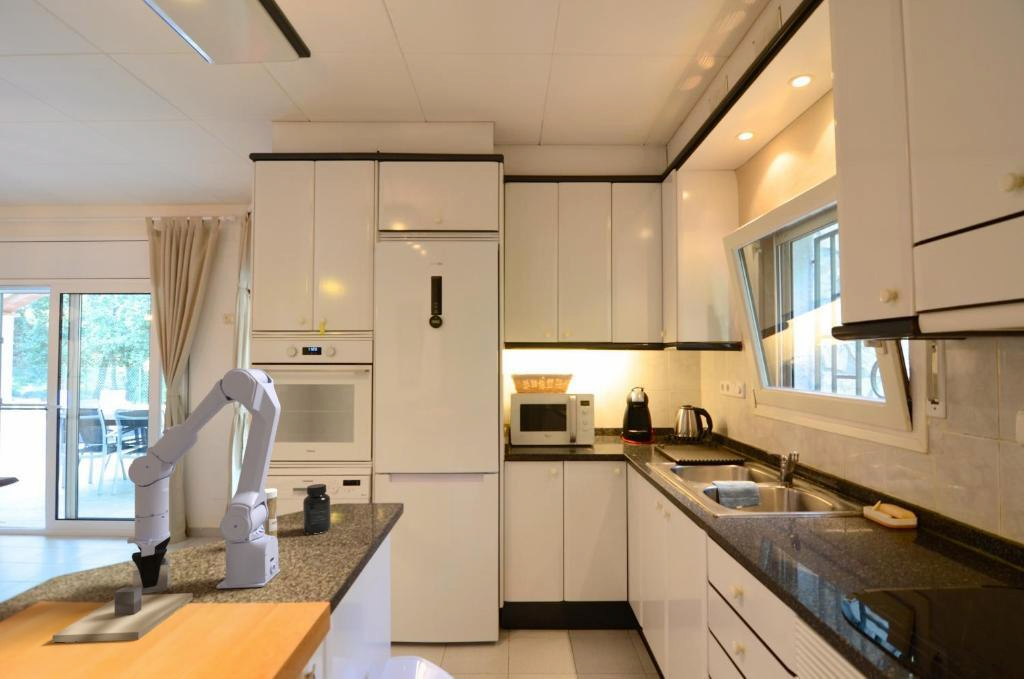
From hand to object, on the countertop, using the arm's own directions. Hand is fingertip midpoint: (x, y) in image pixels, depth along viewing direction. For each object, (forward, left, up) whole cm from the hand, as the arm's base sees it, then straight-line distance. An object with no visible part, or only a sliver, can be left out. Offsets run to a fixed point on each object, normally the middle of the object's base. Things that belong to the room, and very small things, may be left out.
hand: (152, 581), depth 102 cm
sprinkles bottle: (-12, -24, -2) cm, 27 cm away
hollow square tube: (0, 0, -1) cm, 1 cm away
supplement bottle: (-21, -33, -2) cm, 39 cm away
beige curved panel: (-5, +13, -1) cm, 14 cm away
